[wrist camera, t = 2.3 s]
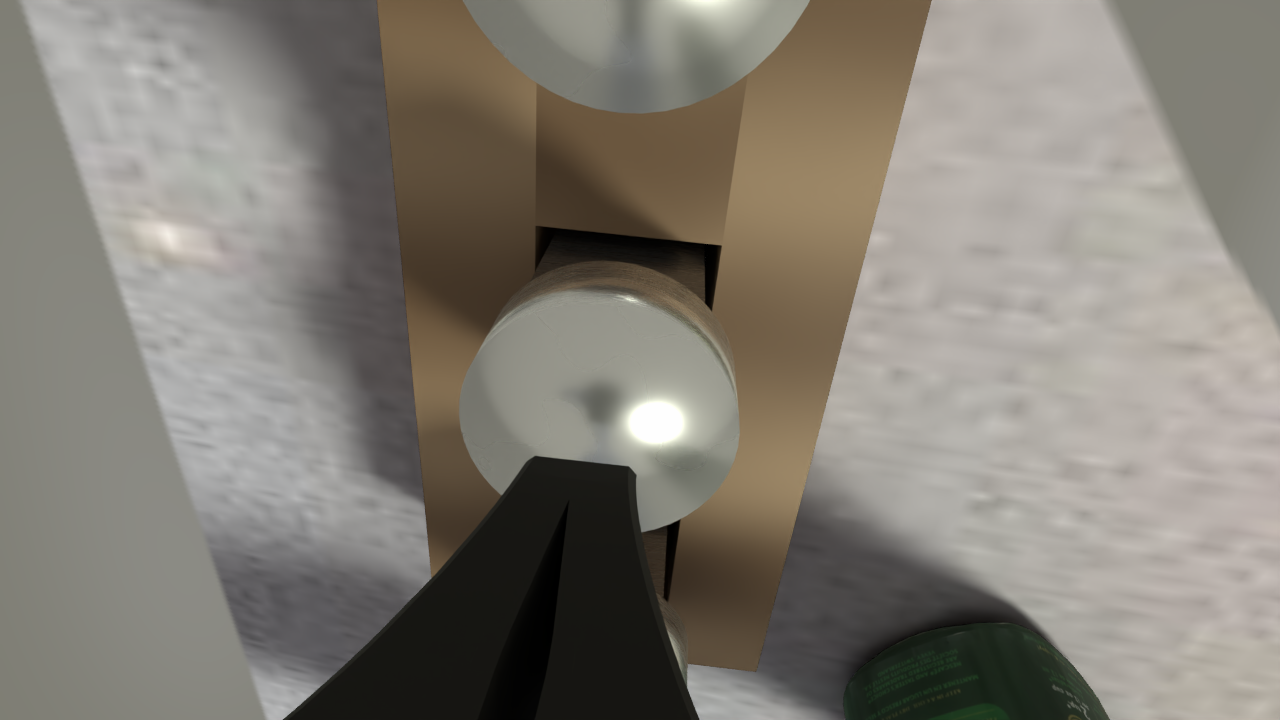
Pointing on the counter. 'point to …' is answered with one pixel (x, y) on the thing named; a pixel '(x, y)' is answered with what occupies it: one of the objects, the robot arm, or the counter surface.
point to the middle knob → (609, 372)
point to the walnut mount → (664, 209)
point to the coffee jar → (971, 679)
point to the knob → (636, 46)
